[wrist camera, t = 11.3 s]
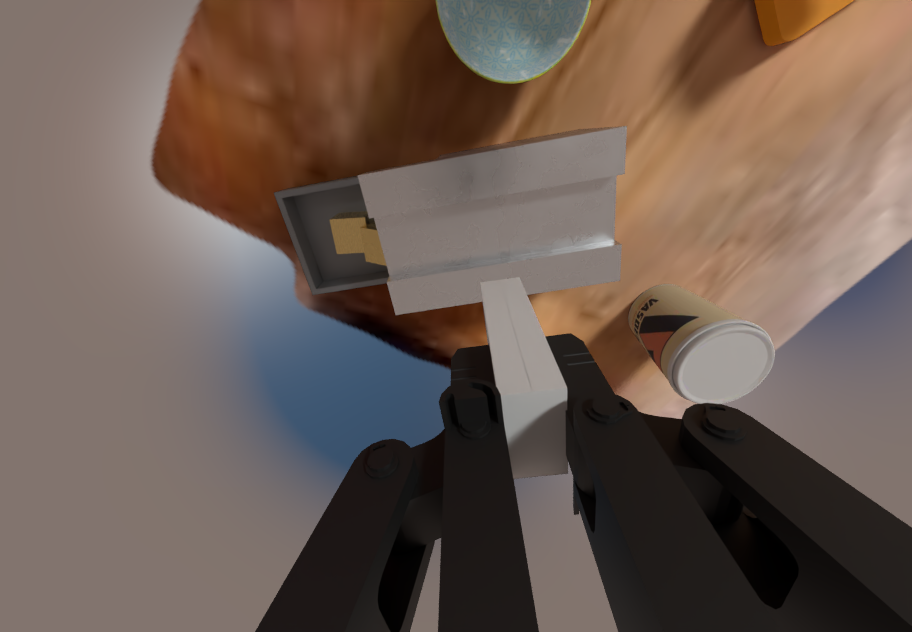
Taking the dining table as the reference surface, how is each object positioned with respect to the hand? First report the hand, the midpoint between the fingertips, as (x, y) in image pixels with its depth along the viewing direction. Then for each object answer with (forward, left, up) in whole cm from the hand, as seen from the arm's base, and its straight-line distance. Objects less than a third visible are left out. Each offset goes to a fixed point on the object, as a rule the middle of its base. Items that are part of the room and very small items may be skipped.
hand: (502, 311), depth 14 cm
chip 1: (+1, -11, -25) cm, 27 cm away
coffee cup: (+17, +21, -27) cm, 38 cm away
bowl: (-15, +5, -27) cm, 31 cm away
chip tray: (+1, -13, -27) cm, 30 cm away
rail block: (+1, +1, -27) cm, 27 cm away
